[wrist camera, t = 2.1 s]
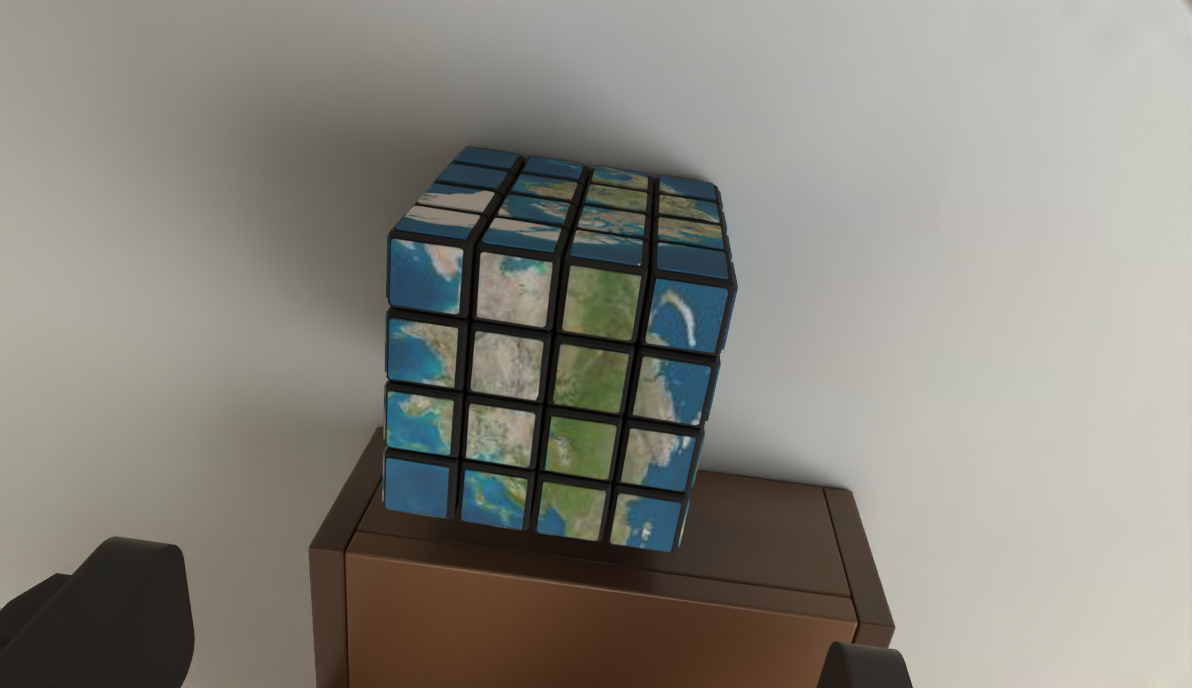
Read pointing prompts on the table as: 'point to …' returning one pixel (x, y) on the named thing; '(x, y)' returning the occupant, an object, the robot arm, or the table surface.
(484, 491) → the puzzle
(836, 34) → the table surface
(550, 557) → the wooden step riser
